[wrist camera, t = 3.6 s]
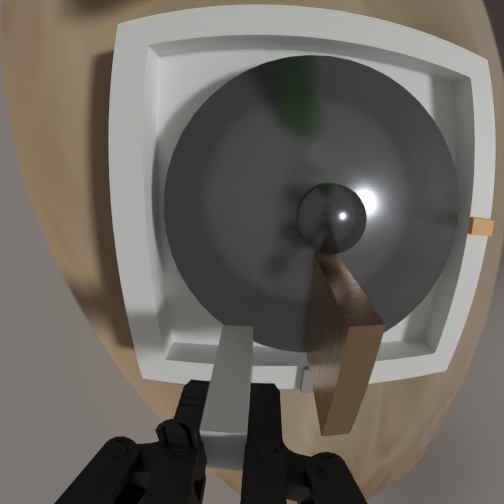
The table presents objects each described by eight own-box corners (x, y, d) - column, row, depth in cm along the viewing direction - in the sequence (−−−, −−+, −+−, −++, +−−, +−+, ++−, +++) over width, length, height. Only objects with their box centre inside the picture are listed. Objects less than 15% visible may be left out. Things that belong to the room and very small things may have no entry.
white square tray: (141, 43, 14) (114, 21, 10) (458, 69, 13) (490, 58, 9) (157, 349, 20) (140, 381, 17) (427, 345, 20) (448, 373, 16)
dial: (174, 67, 13) (101, 2, 5) (445, 92, 12) (539, 71, 5) (184, 333, 18) (145, 431, 10) (417, 330, 17) (474, 408, 9)
